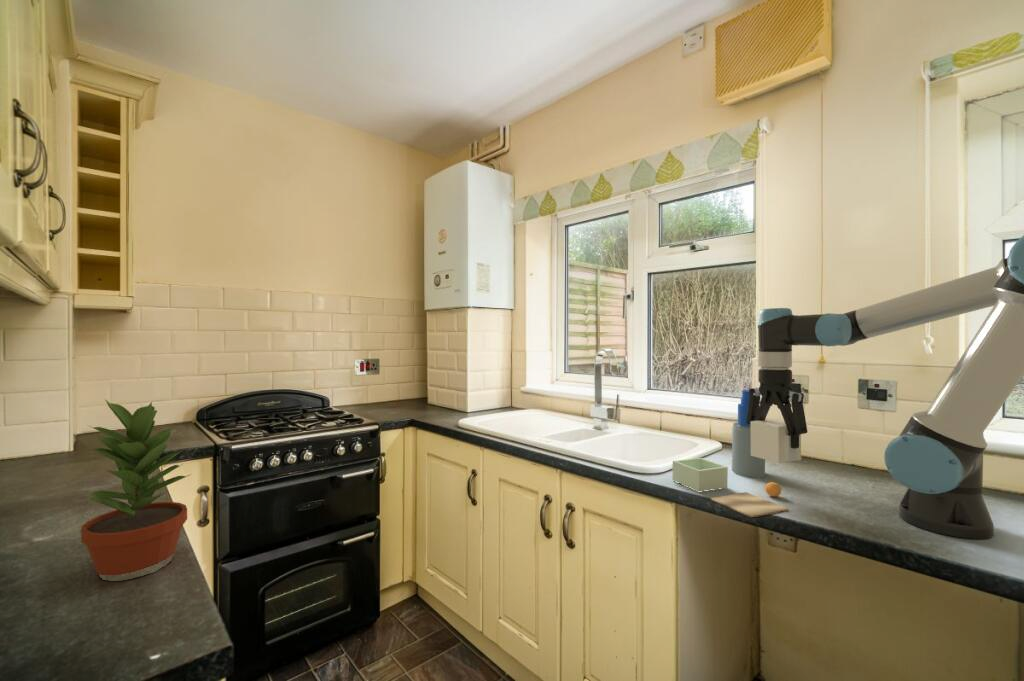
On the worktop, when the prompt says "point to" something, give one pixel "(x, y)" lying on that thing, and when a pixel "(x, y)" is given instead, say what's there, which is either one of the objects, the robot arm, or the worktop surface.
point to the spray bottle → (744, 444)
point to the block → (771, 440)
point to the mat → (749, 504)
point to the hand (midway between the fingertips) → (775, 456)
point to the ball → (773, 489)
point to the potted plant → (134, 499)
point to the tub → (700, 474)
